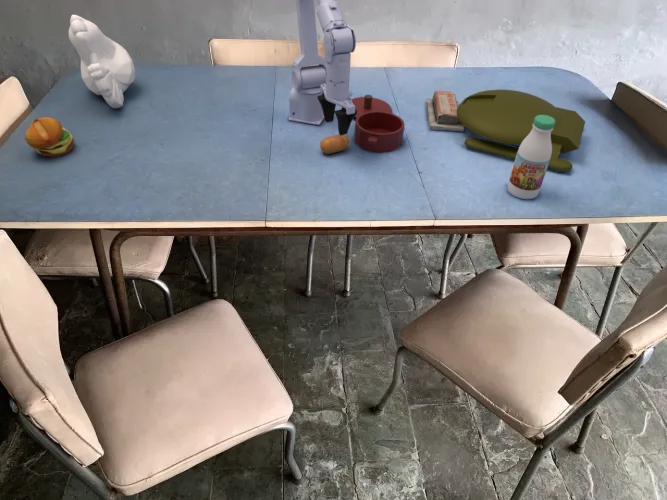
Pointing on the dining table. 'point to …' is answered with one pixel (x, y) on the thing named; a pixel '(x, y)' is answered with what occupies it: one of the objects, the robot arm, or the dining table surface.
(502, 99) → the spaceship
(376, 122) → the pot
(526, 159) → the milk bottle
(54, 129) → the cheeseburger
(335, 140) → the bread roll
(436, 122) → the packaged product
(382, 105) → the pot lid
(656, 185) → the dining table surface
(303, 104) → the robot arm
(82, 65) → the white rounded figure
